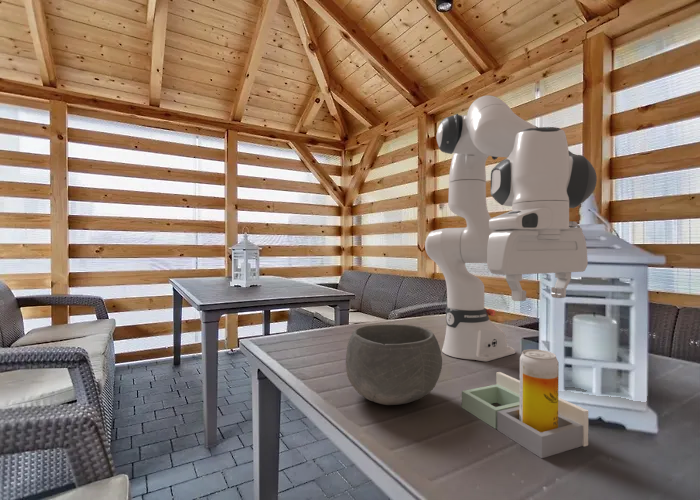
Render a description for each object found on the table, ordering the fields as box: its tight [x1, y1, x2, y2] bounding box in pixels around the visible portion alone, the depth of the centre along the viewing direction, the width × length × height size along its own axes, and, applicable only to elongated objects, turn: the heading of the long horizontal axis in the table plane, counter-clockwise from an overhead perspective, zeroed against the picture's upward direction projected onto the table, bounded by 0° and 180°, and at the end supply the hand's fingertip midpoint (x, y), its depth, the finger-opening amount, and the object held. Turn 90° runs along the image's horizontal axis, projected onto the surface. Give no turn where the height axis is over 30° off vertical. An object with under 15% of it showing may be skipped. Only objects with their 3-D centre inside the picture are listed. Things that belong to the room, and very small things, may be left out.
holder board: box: [461, 371, 589, 459], centre depth 70 cm, size 10×20×6 cm, turn 22°
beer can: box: [519, 348, 560, 432], centre depth 65 cm, size 6×6×15 cm
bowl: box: [345, 323, 443, 406], centre depth 81 cm, size 21×21×15 cm
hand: (539, 299), depth 64 cm, fingers open, 8 cm apart
